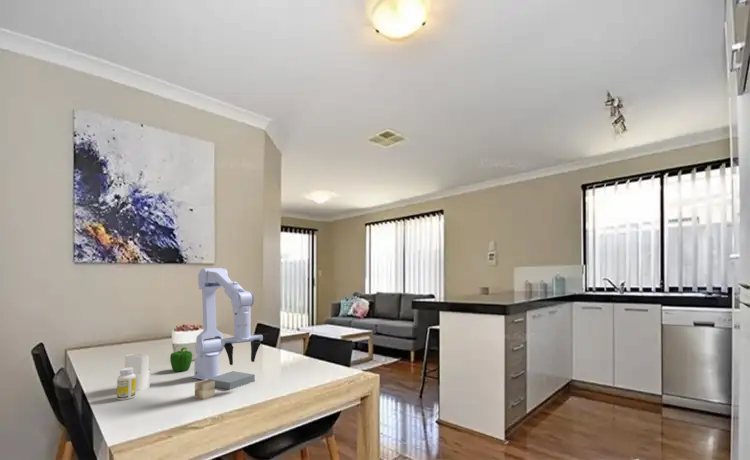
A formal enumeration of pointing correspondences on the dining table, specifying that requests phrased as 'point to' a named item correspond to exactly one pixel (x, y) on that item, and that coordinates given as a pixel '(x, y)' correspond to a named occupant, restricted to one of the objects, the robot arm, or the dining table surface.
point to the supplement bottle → (126, 384)
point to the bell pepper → (181, 360)
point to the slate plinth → (232, 379)
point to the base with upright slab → (139, 370)
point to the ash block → (204, 389)
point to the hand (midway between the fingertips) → (242, 362)
